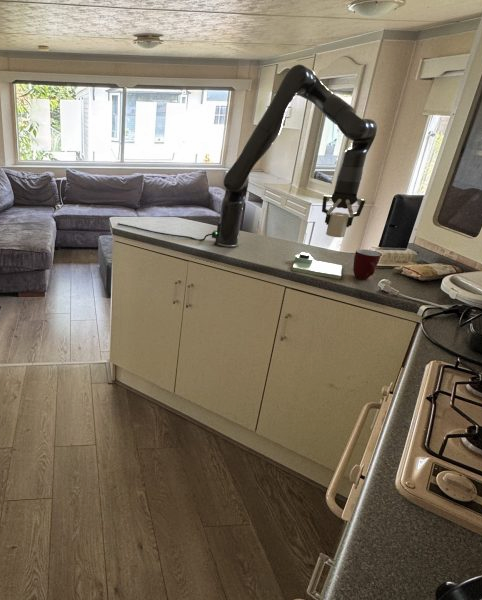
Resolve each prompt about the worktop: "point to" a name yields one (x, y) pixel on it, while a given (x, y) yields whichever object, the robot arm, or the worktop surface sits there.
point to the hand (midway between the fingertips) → (337, 225)
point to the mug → (365, 263)
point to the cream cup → (337, 224)
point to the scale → (317, 267)
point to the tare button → (304, 255)
